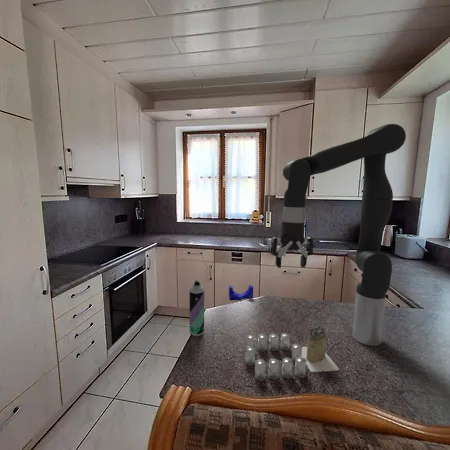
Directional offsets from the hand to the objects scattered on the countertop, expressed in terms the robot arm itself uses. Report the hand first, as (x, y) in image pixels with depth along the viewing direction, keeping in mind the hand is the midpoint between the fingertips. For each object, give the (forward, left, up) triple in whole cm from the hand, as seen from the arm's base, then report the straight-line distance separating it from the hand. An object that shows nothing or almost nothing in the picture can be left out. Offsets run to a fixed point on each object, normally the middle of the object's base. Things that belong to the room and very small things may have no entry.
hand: (290, 267), depth 87 cm
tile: (-6, +10, -27) cm, 30 cm away
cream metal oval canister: (-6, +10, -27) cm, 30 cm away
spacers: (+8, +10, -27) cm, 30 cm away
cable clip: (+10, -39, -28) cm, 49 cm away
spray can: (+32, -9, -28) cm, 43 cm away
